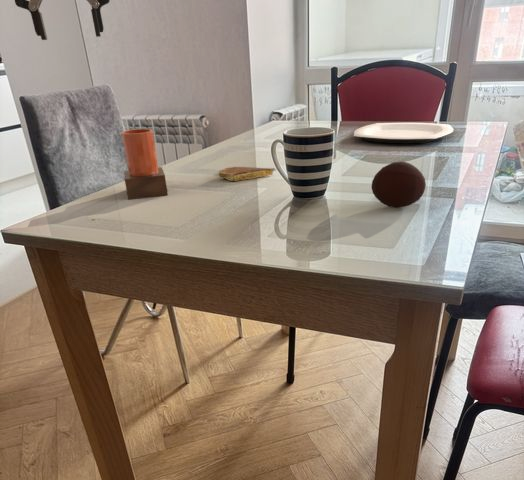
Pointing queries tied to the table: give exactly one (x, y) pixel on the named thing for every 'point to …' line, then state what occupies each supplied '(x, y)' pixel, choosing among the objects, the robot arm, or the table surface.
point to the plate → (403, 132)
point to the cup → (140, 152)
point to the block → (145, 185)
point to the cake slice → (244, 173)
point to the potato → (398, 184)
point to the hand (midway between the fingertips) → (71, 38)
